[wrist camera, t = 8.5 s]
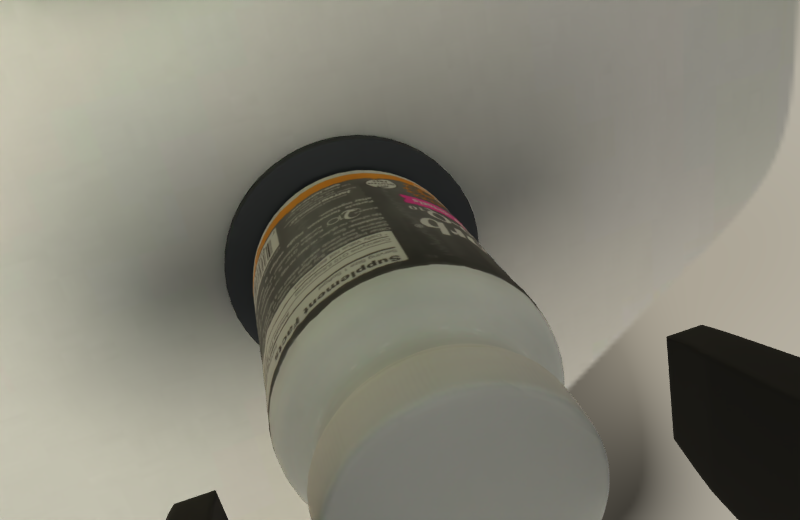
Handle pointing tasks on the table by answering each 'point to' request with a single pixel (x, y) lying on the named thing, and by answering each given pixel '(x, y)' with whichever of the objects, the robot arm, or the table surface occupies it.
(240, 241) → the coaster
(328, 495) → the pill bottle
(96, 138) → the table surface
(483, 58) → the table surface
